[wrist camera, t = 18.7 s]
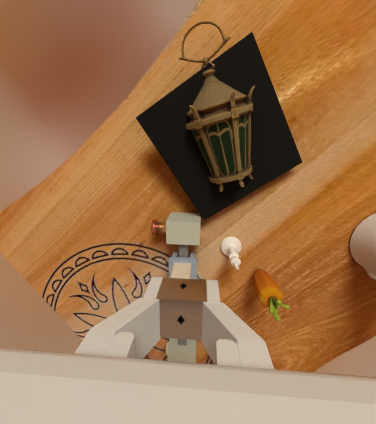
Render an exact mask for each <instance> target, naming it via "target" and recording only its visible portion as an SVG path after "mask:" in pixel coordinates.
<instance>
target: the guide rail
mask: <svg viewBox="0 0 376 424" xmlns="http://www.w3.org/2000/svg"><path fill="white" fill-rule="evenodd" d="M200 223H201V215H200V213H177V212H171V213H170V215H169V217H168V219H167V221H166V244H179V257H184V258H188V255H189V245H200ZM196 341H197V340H189V339H177V338H170V339H169V342H167V346H166V356H168V361H175V362H187V363H196Z"/></svg>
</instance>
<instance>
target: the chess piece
mask: <svg viewBox="0 0 376 424" xmlns="http://www.w3.org/2000/svg"><path fill="white" fill-rule="evenodd" d="M221 250H222V252H223V253H224V254H225V255H227V256H229V259H230V260H231V265H232V266H234V267H236V269H237V270H238V269H239V267H238V266H239V265H240V263H241V261H240V259H239V255H238V253H239V252H240V251H241V243H240V241H239V240H238V239H237V238H235V237H227V238H225V239H224V240H223V241H222V242H221Z"/></svg>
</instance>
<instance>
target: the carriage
mask: <svg viewBox="0 0 376 424" xmlns="http://www.w3.org/2000/svg"><path fill="white" fill-rule="evenodd" d="M196 273H197V258H195V253H191V255H190V258H184V257H178V252H173V255H172V257H169V277H170V278H184V279H196Z"/></svg>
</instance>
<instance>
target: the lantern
mask: <svg viewBox="0 0 376 424" xmlns="http://www.w3.org/2000/svg"><path fill="white" fill-rule="evenodd" d="M200 24H212V25H214V26H216V27H217V28H218V29H219V31H220V32H221V34H222V38H223V42H222V44H221V45H220V47H219V48H218V49H217V50H216V51H215V52H214V53H213V54H212V55H211V56H210V57H208V58H206V57H205V58H204V59H202V60H192V59H189V58H185V57H184V50H183V49H184V41H185V39H186V36H187V35H188V33H189V32H190V31H191V30H192V29H193V28H194V27H196V26H198V25H200ZM229 39H230V37H229V38H226V39H225V36H224V33H223V31H222V29H221V28H220V27H219V26H218V25H217V24H216V23H214V22H209V21H204V22H200V23H197V24H196V25H194V26H193V27H191V28H190V29H189V30H188V32H187V33H186V34H185V36H184V39H183V42H182V50H181V51H182V57H181V58H178V59H180V60H185V61H191V62H200V63H203V65H202V67H201V70H200V71H198V72H197V73H196V74H194V75H193V76H192V77H190V78H189V79H188V80H186V81H185V82H184V83H182V84H181V85H180V86H178V87H177V88H175V89H174V90H173V91H171V92H170V93H169V94H167V95H166V96H165V97H163V98H162V99H161V100H159V101H158V102H156V103H155V104H154V105H152V106H151V107H150V108H148V109H147V110H146V111H144V112H143V113H142V114H140V115H139V116H138V117H136V119H137V120H138V122H139V123H140V125H141V126H142V128H143V129H144V131H145V132H146V134H147V135H148V137H149V138H150V140H151V141H152V143H153V144H154V146H155V147H156V149H157V150H158V152H159V153H160V155H161V156H162V158H163V159H164V161H165V162H166V164H167V165H168V167H169V168H170V170H171V171H172V173H173V174H174V176H175V177H176V179H177V180H178V182H179V183H180V185H181V186H182V188H183V189H184V191H185V192H186V194H187V195H188V197H189V198H190V200H191V201H192V203H193V204H194V206H195V207H196V209H197V210H198V212H199V213H200V215H201V216H202V218H203V219H204V220H205V219H207V218H209V217H210V216H212V215H214V214H216V213H217V212H219V211H221V210H222V209H224V208H226V207H227V206H229V205H231V204H232V203H234V202H236V201H238V200H239V199H241V198H243V197H244V196H246V195H248V194H249V193H251V192H253V191H254V190H256V189H258V188H260V187H261V186H263V185H265V184H266V183H268V182H270V181H271V180H273V179H275V178H277V177H278V176H280V175H282V174H283V173H285V172H287V171H288V170H290V169H292V168H293V167H295V166H297V165H299V164H300V163H302V160H301V158H300V155H299V152H298V150H297V147H296V145H295V142H294V139H293V137H292V134H291V132H290V129H289V126H288V124H287V121H286V119H285V116H284V113H283V111H282V108H281V106H280V103H279V100H278V98H277V95H276V93H275V90H274V87H273V85H272V82H271V80H270V77H269V74H268V72H267V69H266V67H265V64H264V61H263V59H262V56H261V54H260V51H259V48H258V46H257V43H256V41H255V38H254V35H253V33H252V32H251V33H250V34H249V35H247V36H246V37H245V38H243V39H242V40H240V41H239V42H238V43H236V44H235V45H234V46H232V47H231V48H230V49H228V50H227V51H226V52H224V53H223V54H221V55H220V56H219V57H217V58H216V59H215V60H213V61H212V62H210V61H209V60H210V59H211V58H212V57H213V56H214V55H215V54H216V53H217V52H218V51H219V50H220V49H221V48H222V47H223V46H224V44H225V43H226V42H227V41H228V40H229ZM205 65H206V66H205ZM204 66H205V67H204Z"/></svg>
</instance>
